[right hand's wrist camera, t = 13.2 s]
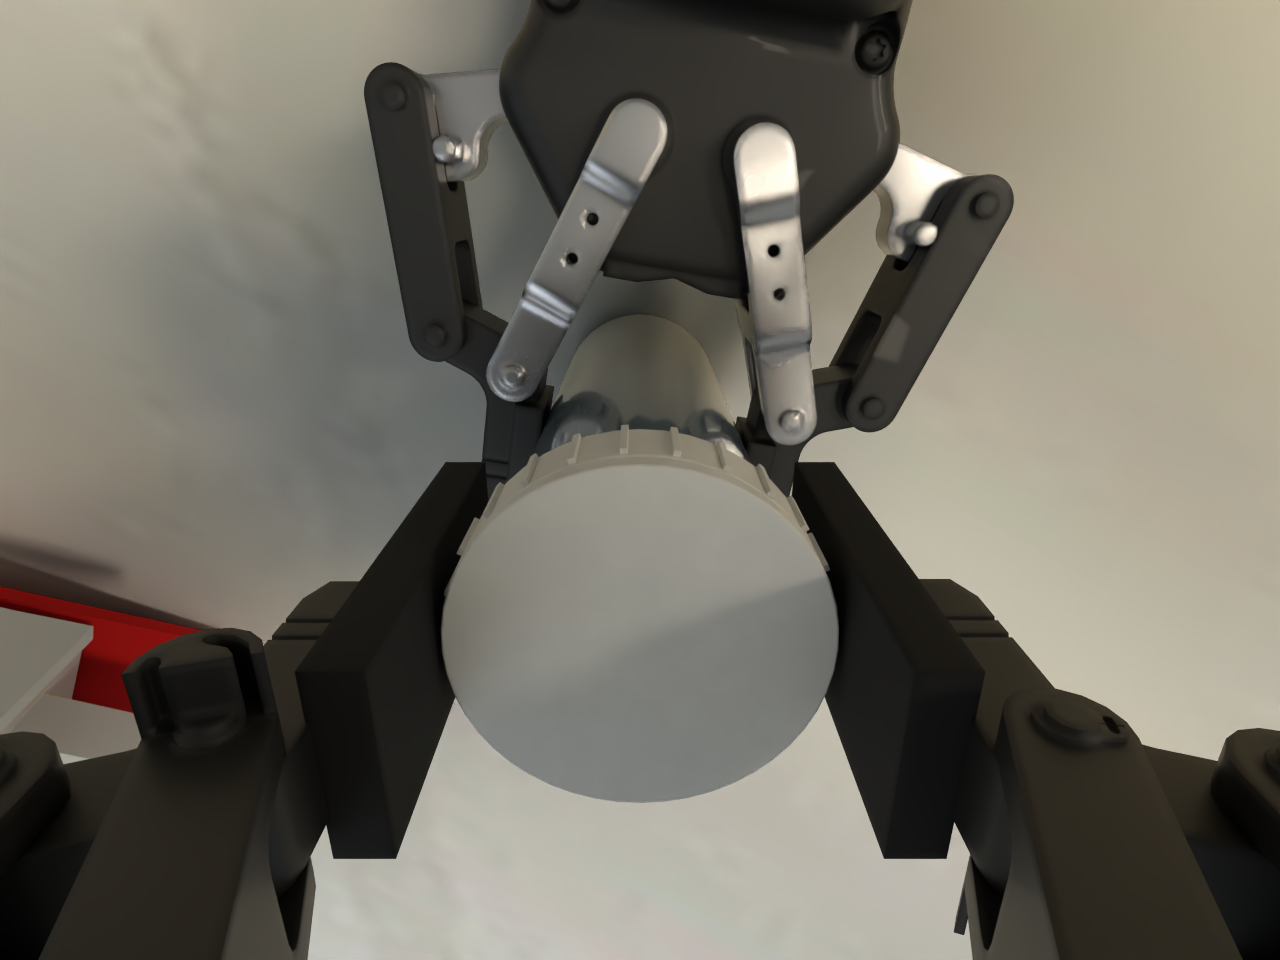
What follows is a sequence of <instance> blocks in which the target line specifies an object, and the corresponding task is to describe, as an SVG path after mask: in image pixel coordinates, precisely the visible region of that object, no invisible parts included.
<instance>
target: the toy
mask: <svg viewBox="0 0 1280 960" xmlns="http://www.w3.org/2000/svg"><path fill="white" fill-rule="evenodd" d="M199 631H203V630H198V629H193V628H189V627H184V626H180V625H175V624H170V623H166V622H161V621H157V620H152V619H147V618H143V617H138V616H134V615H129V614H124V613H120V612H115V611H111V610H106V609H101V608H97V607H92V606H88V605H83V604H78V603H74V602H69V601H65V600H60V599H55V598H51V597H46V596H42V595H37V594H32V593H28V592H23V591H19V590H14V589H9V588H5V587H0V735H1V734H8V733H14V732H21V731H24V732H34V733H43V734H45V735H46V736H48V737H49V738H50V739H52V740H53V741H54V742H55V743H56V746H57V748H58V751H59V754H60V757H61V759H62V762H63V764H67V763H72V762H77V761H82V760H86V759H91V758H96V757H101V756H105V755H110V754H115V753H120V752H125V751H128V750H132V749H136V748H137V747H138V745H139V743H140V741H141V736H140V733H139V730H138V727H137V724H136V720H135V717H134V714H133V711H132V708H131V705H130V701H129V698H128V695H127V692H126V689H125V685H124V682H123V679H122V676H121V674H122V673H123V672H124V671H125V669H126V668H127V667H128V666H129V665H130V664H131V663H132V662H133V661H134V660H135V659H136V658H138V657H139V656H141V655H142V654H144V653H146V652H147V651H149V650H150V649H152V648H153V647H155V646H157V645H159V644H162V643H164V642H167V641H169V640H172V639H174V638H177V637H179V636H182V635H186V634H190V633H195V632H199Z"/></svg>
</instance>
